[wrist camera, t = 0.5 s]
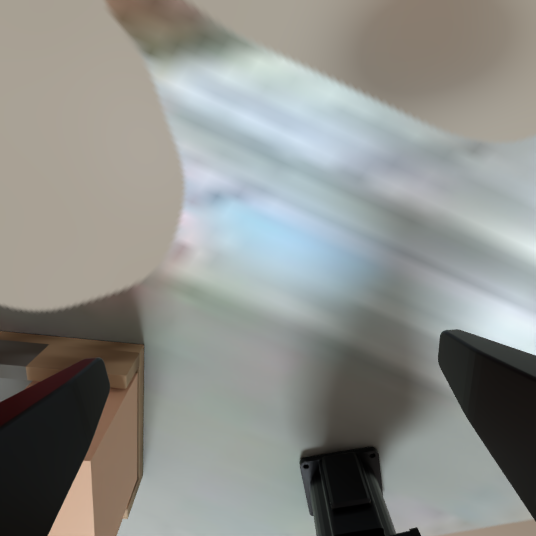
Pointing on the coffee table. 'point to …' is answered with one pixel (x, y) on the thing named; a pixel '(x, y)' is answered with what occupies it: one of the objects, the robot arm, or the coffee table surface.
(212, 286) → the coffee table surface
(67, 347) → the track
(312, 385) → the coffee table surface
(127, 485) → the block
